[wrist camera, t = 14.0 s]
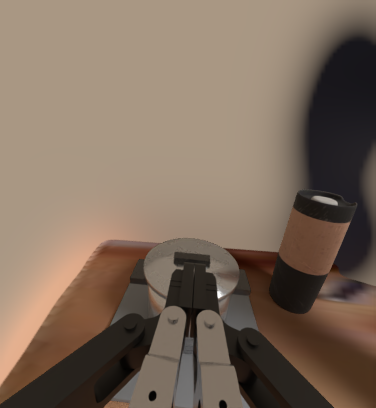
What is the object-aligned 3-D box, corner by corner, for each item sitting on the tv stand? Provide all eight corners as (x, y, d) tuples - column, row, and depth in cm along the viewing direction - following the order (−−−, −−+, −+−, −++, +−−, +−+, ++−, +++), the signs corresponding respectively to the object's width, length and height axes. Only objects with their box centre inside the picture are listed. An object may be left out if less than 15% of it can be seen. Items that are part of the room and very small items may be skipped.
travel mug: (260, 295, 35) (289, 194, 28) (276, 276, 40) (304, 186, 33) (305, 324, 30) (355, 211, 23) (317, 298, 35) (360, 199, 28)
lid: (230, 249, 33) (232, 237, 32) (250, 324, 20) (254, 307, 19) (155, 241, 33) (155, 229, 32) (126, 311, 20) (125, 293, 19)
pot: (232, 288, 35) (240, 249, 32) (248, 369, 23) (264, 319, 20) (146, 279, 36) (145, 239, 33) (119, 354, 24) (114, 303, 21)
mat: (241, 273, 40) (241, 271, 40) (283, 422, 20) (284, 419, 20) (139, 263, 41) (139, 261, 41) (78, 396, 20) (78, 393, 20)
